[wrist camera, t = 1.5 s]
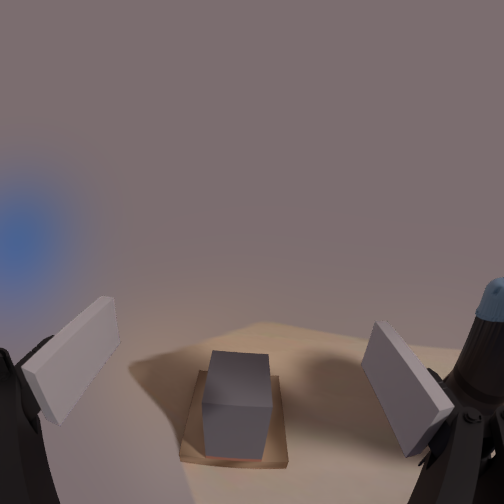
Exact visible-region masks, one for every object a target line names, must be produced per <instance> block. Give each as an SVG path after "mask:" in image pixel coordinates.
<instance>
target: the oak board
mask: <svg viewBox="0 0 504 504" xmlns="http://www.w3.org/2000/svg"><path fill="white" fill-rule="evenodd" d="M207 374H208V371H201V370H199V374H198V378H197V382H196V386H195V390H194V394H193V398H192V402H191V406H190V410H189V414H188V418H187V422H186V427H185V431H184V435H183V439H182V443H181V448H180V452H179V456H180V461H181V462H187V463H194V464H201V465H210V466H220V467H232V468H252V469H284V468H286V467H287V464H288V462H289V461H288V452H287V443H286V434H285V426H284V417H283V409H282V401H281V393H280V384H279V376H270V380H271V392H272V404H273V409H272V414H271V419H270V424H269V429H268V433H267V438H266V443H265V448H264V452H263V457H262V461H261V462H249V461H231V460H219V459H209V458H206V453H205V442H204V430H203V416H202V398H203V393H204V388H205V384H206V379H207Z"/></svg>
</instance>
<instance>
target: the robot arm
mask: <svg viewBox="0 0 504 504" xmlns="http://www.w3.org/2000/svg"><path fill="white" fill-rule="evenodd" d="M475 314H476V317H475V320H474V323H473V325H472V328H471V330H470V333H469V335H468V338H467V340H466V342H465V345H464V347H463V349H462V351H461V353H460V356H459V358H458V360H457V362H456V364H455V366H454V368H453V370H452V371H451V372H450V373H449V374H448V375H447V376H446V377H445V378H444V379H443V380H442V379H441V378H440V376H439V375H438V374H437V373H435V372H434V371H433V370H431V369H430V368H425V366H424V365H423V364H422V362H421V361H420V360H419V359H418V357H417V356H416V355H415V354H414V352H413V351H412V350H411V349H410V347H409V346H408V345H407V344H406V343H405V341H404V340H403V339H402V338H401V336H400V335H399V334H398V333H397V332H396V330H395V329H394V328H393V327H392V326H391V325H390V323H389V322H388V321H375V323H374V326H373V330H372V333H371V336H370V339H369V343H368V346H367V349H366V352H365V355H364V357H363V360H362V363H361V366H362V368H363V370H364V372H365V373H366V375H367V377H368V379H369V381H370V383H371V385H372V387H373V389H374V391H375V394H376V396H377V398H378V400H379V402H380V404H381V406H382V408H383V410H384V412H385V414H386V416H387V418H388V421H389V423H390V425H391V427H392V429H393V431H394V433H395V436H396V438H397V440H398V442H399V444H400V447H401V449H402V451H403V453H404V456H405V458H407V457H410V456H414V455H417V454H420V453H421V452H422V451H423V450H424V449H425V447H426V446H427V445H429V447H430V449H431V450H430V451H429V452H428V454H427V455H426V456H425V457H424V458H423V459H422V461H421V462H420V463H419V465H418V466H421V465H422V464H423V462H424V465H423V468H422V470H421V473H420V475H419V478H418V480H417V483H416V485H415V488H414V490H413V492H412V495H411V497H410V499H409V501H408V503H407V504H504V277H503V278H497V279H494V280H493V281H491V282H490V283H489V284H488V285H487V286H486V288H485V291H484V294H483V297H482V300H481V302H480V305H479V307H478V308H477V309H476V313H475ZM119 344H120V337H119V331H118V325H117V317H116V310H115V301H114V298H113V297H107V296H101V297H99V298H98V299H97V300H96V301H95V302H93V303H92V304H91V305H90V306H89V307H87V308H86V309H85V310H84V311H83V312H81V313H80V314H79V315H78V316H77V317H76V318H75V319H73V320H72V321H71V322H70V323H69V324H67V325H66V326H65V327H64V328H63V329H62V330H61V331H59V332H58V333H57V334H56V335H52V336H50V337H48V338H46V339H44V340H43V341H41V342H40V343H39V344H38V345H37V347H35V348H34V349H33V350H32V352H31V351H30V352H29V353H28V354H27V355H26V356H25V357H24V358H23V359H21V360H20V361H19V362H18V363H17V364H16V365H15V366H14V365H13V363H12V361H11V358H10V355H9V353H8V351H7V350H5V349H4V348H0V504H60V501H59V498H58V496H57V493H56V490H55V486H54V483H53V479H52V476H51V472H50V468H49V465H48V461H47V456H46V452H45V447H44V442H43V437H42V430H41V424H40V419H39V417H38V415H37V414H38V413H39V411H40V410H41V411H42V412H43V414H44V416H45V418H46V419H47V420H49V421H50V422H53V423H55V424H56V425H58V426H61V424H62V423H63V421H64V420H65V418H66V417H67V415H68V414H69V413H70V411H71V410H72V408H73V407H74V405H75V404H76V402H77V401H78V399H79V398H80V397H81V395H82V394H83V393H84V391H85V390H86V388H87V387H88V386H89V384H90V383H91V382H92V380H93V379H94V377H95V376H96V375H97V373H98V372H99V371H100V369H101V368H102V367H103V365H104V364H105V363H106V361H107V360H108V359H109V357H110V356H111V355H112V353H113V352H114V351H115V349H116V348H117V347H118V345H119ZM494 450H495V452H496V455H495V456H494V457H493V458H491V453H492V452H493V451H494Z"/></svg>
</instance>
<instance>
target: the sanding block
mask: <svg viewBox="0 0 504 504" xmlns="http://www.w3.org/2000/svg"><path fill="white" fill-rule="evenodd" d="M272 409H273V404H272V392H271V380H270V368H269V356H268V354H253V353H238V352H225V351H214V350H213V351H212V355H211V360H210V365H209V369H208V374H207V379H206V384H205V388H204V393H203V398H202V416H203V430H204V442H205V453H206V458H209V459H219V460H231V461H249V462H261V461H262V457H263V452H264V448H265V443H266V438H267V433H268V429H269V424H270V419H271V414H272Z"/></svg>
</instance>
